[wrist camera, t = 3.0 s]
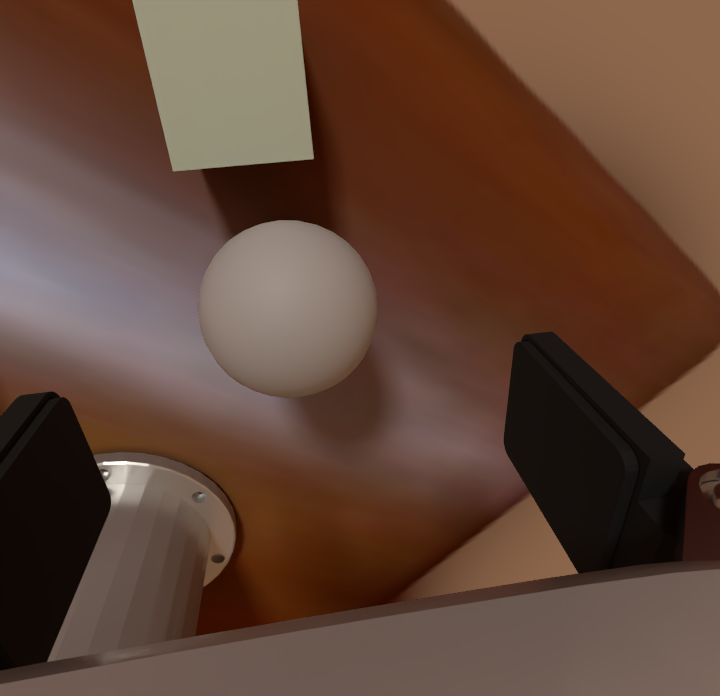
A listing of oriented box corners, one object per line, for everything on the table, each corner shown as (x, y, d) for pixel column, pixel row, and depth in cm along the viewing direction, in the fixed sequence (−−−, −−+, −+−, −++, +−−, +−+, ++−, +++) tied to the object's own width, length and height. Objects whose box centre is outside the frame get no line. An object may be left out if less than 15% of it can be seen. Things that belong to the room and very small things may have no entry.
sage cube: (307, 146, 22) (313, 159, 17) (195, 156, 21) (173, 171, 17) (292, 14, 19) (296, -11, 15) (167, 21, 19) (131, -3, 14)
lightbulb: (372, 256, 24) (431, 359, 15) (281, 326, 25) (281, 465, 16) (295, 154, 22) (306, 200, 12) (196, 238, 23) (134, 341, 13)
